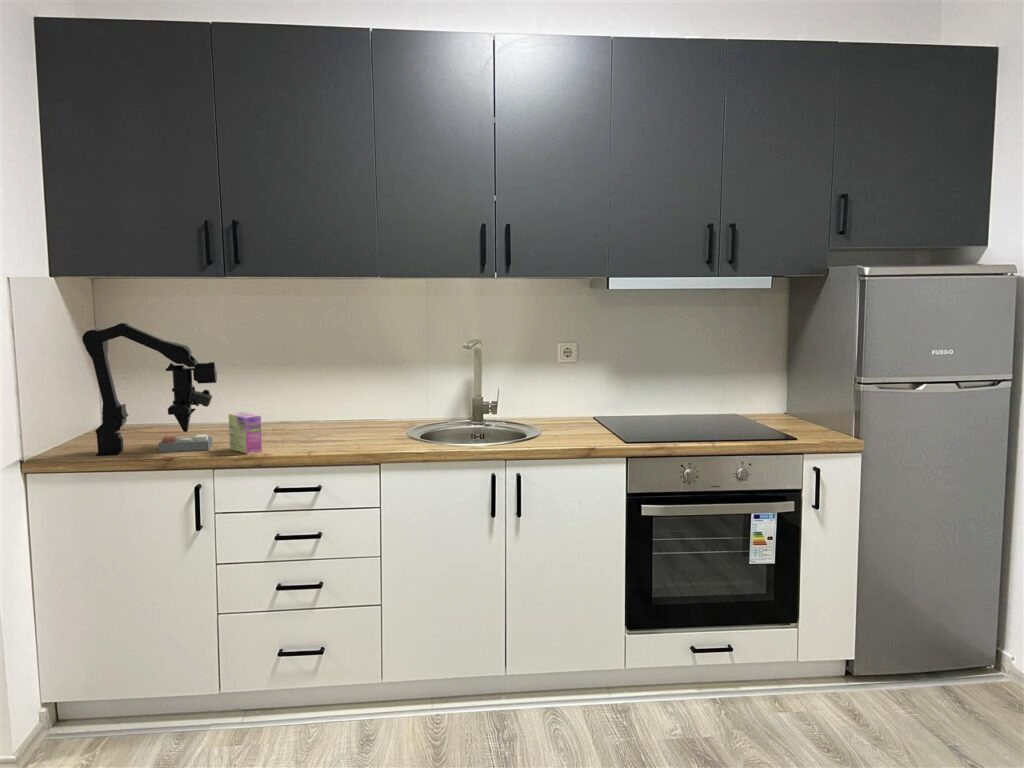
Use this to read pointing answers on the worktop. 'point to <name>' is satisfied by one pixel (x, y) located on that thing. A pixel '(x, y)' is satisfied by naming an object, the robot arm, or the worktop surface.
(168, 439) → the red button
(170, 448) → the button panel
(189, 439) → the green button
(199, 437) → the cream button
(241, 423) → the box
